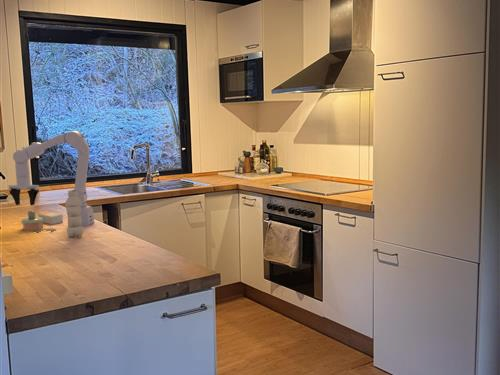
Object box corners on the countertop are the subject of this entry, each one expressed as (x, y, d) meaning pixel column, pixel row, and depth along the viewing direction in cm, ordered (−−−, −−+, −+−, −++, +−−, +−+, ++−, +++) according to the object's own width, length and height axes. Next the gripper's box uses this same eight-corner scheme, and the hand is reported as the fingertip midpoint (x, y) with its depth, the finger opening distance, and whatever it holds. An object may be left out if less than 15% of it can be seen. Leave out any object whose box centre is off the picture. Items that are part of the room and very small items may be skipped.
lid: (46, 221, 241) (46, 210, 240) (29, 224, 234) (28, 214, 233) (35, 218, 246) (34, 208, 245) (17, 222, 239) (16, 212, 238)
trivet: (61, 229, 238) (60, 228, 238) (48, 235, 228) (48, 233, 228) (41, 229, 240) (41, 228, 240) (27, 234, 230) (27, 233, 230)
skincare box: (49, 211, 260) (62, 214, 252) (50, 219, 261) (63, 223, 253) (38, 213, 255) (51, 216, 248) (38, 222, 256) (51, 225, 248)
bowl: (46, 227, 244) (45, 219, 243) (35, 231, 236) (35, 223, 236) (30, 226, 245) (30, 219, 245) (20, 230, 238) (19, 223, 237)
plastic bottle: (85, 235, 227) (82, 189, 224) (80, 238, 220) (77, 191, 218) (70, 235, 227) (67, 189, 224) (65, 239, 220) (62, 192, 217)
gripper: (42, 175, 245) (44, 203, 247) (14, 174, 248) (16, 203, 250) (33, 176, 238) (35, 206, 240) (4, 176, 241) (7, 205, 243)
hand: (25, 204), depth 244 cm, fingers open, 7 cm apart
